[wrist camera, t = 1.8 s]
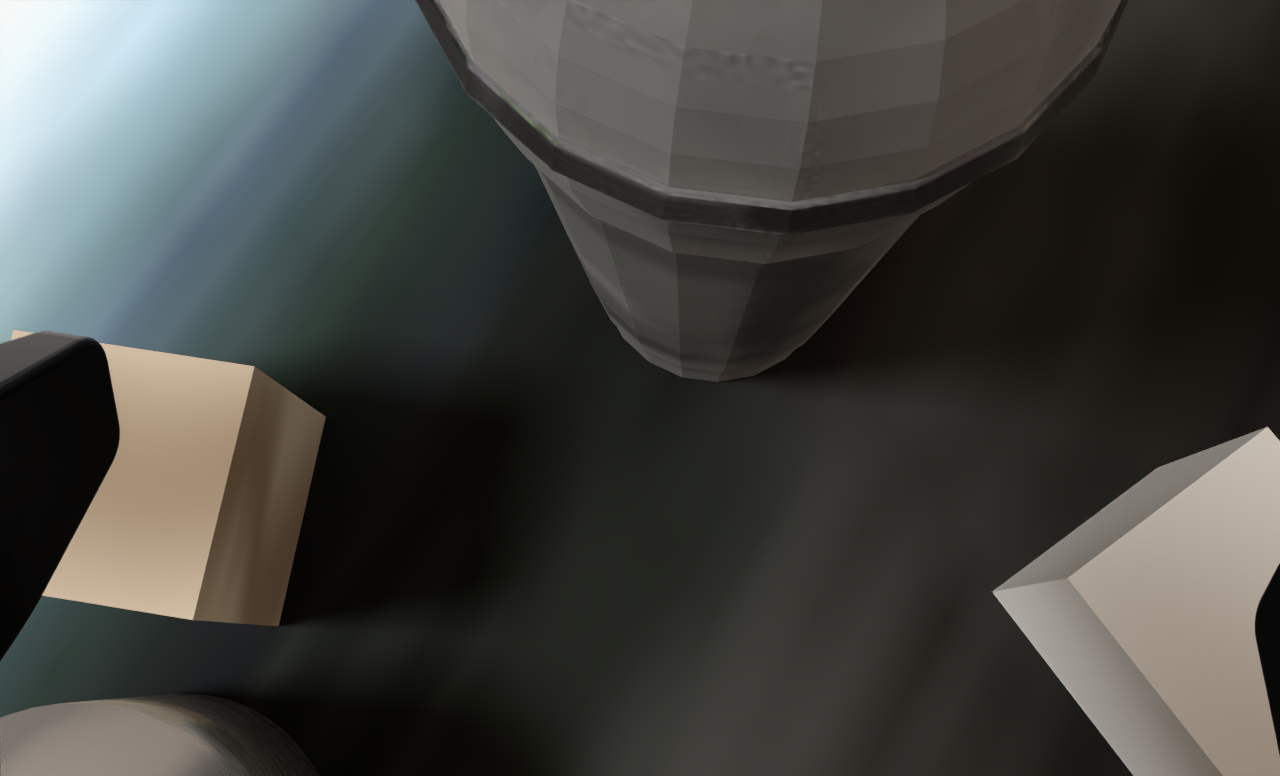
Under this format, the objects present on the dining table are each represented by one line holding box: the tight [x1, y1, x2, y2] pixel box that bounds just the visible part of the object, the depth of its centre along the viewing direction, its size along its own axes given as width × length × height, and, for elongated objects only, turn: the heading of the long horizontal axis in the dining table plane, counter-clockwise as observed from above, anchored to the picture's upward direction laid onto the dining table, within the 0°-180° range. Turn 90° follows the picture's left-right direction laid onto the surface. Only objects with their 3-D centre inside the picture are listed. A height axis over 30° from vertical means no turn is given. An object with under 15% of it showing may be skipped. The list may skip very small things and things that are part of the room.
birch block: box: [11, 330, 326, 626], centre depth 19 cm, size 4×4×4 cm
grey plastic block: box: [993, 427, 1280, 776], centre depth 19 cm, size 4×4×4 cm
